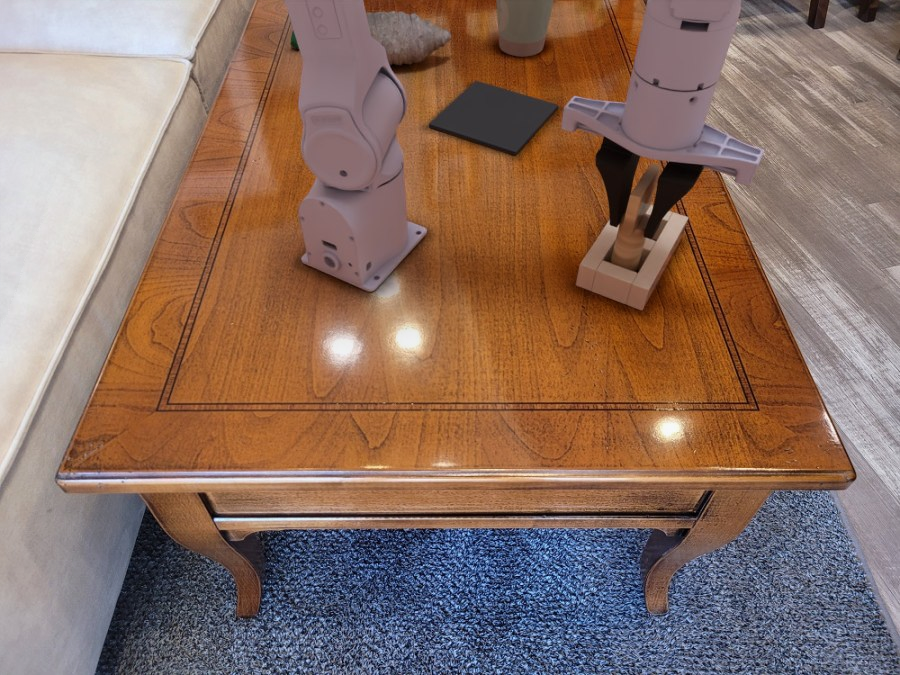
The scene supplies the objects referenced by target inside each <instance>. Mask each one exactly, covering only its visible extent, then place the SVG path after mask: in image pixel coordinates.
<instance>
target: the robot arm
mask: <svg viewBox="0 0 900 675" xmlns="http://www.w3.org/2000/svg"><path fill="white" fill-rule="evenodd" d="M742 1H743V0H647V1H646V6H645V9H644V10H645V11H644V15H643V20H642V25H641V29H640V33H639V37H638V38H639V39H638V43H637V48H636V51H635V55H634V56H635V57H634V62H633V66H632V70H631V75H630V80H629V84H628V89H627V93H626V97H625V98H626V99H625V102H620V101H613V100H612V101H611V100H600V99H592V98H587V97H581V96H578V95H573V96H572V98H571V99H570V100H569V101H568V102H567V103H566V104H565V105H564V106H563V113H562V119H561V124H560V125H561V126H560V129H561V130H563V131H566V132H569V133H575V132H576V131H577V130H579V131H582V132H585V133H589V134H592V135H595V136H598V137H601V138H602V142H601V145H600V148H599V149H598V150H597V152H596V153H595V158H594V161H595V167H596V168H597V170H598V172H599V175H600V178H601V179H602V182H603V185H604V188H605V192H606V196H607V197H606V198H607V202H608V210H609V211H608V212H609V220H610V225H611V226H614V227H616V228H617V227H618V225H619V224H620V220H621V217H622V216H623V214H624V213H626V210H627V206H628V202H629V198H630V194H631V193H632V191H633V184H634V179H635V176H636V172H637V168H638V165H639V162H640V159H641V158H645V159H649V160H655V161H660V162H661V161H662V162H667V163H666V164H665V166H664V168H663V170H662V171H661V172H660V174H659V178H658V181H657V185H656V189H655V196H654V199H653V200H654V201H653V204H652V205H653V209H652V212H651V215H650V217H649V220H648V223H647V225H646V228H645V231H644V236H643V237H645V238H648V239H651V240H653V239H652V238H653V237H654V235H655V233H656V231H657V230H658V228H659V226H660V224H661V221H662V219H663V218H664V216H665V215H666V214H667V213H668V211H671V209H672V208H673V207H674V206H675V205H676V204H678V202H679V201H680V200H681V199H683V198H684V197H685V196H686V195H687V194H688V193H690V191H691V190H693V188H694V186H695V185H696V183H697V182H698V180H699V178H700V176H701V174H702V172H703V171H704V169H708V170H711V171H714V172H718V173H722V174H724V175H727V176H731V177H734V182H735V183H736V184H739V185H742V186H746V187H750V186H751V183H752V181H753V180H754V178H755V175H756V174H757V171H758V168H759V166H760V163H761V161H762V158H763V156H764V154H765V149H763V148H760V147H757V146H753V145H751V144H748V143H745V142H744V141H742V140H739V139H737V138H735V137H733V136H732V135H729V134H728V133H726V132H724V131H722V130H720V129H718V128H716V127H714V126H712V125H710V124H708V123H706V120H707V117H708V114H709V110H710V107H711V104H712V102H713V98H714V96H715V91H716V88H717V85H718V82H719V80H720V76H721V74H722V70H723V68H724V64H725V61H726V58H727V56H728V52H729V50H730V49H729V48H730V46H731V42H732V40H733V36H734V33H735V31H736V27H737V23H738V20H739V17H740V15H741V10H742V4H741V3H742ZM283 2H284V4H285V7H286V10H287V13H288V17H289V19H290V23H291V27H292V31H293V30H294V33H295V37H296V40H297V43H298V46H299V49H298V50H299V53H300V56H301V60H302V69H301V78H300V86H299V94H298V95H299V96H298V102H297V103H298V104H297V105H298V106H297V108H298V112H299V115H300V119H301V121H302V135H301V140H300V151H301V152H300V153H301V156H302V159H303V161H304V163H305V165H306V167H307V169H309V171H310V172H311V173H312V174H313V175H314V176H315V179H314V182H313V184H312V186H311V189H310V190H309V191H308V193H307V194H306V196H305V197H304V198H303V199H302V201H301V202H300V203H299V205H298V211H297V214H298V219H299V220H298V221H299V225H300V229H301V233H302V238H303V239H302V240H303V242H304V243H303V244H304V248H305V253H304V254H302V256H301V258H300V259H301V260H300V261H301V263H302V264H304V265H307V266H309V267H312V268H314V269H316V270H318V271H321V272H322V273H325V274H327V275H329V276H332V277H334V278H336V279H338V280H341V281H343V282H346V283H348V284H350V285H352V286H355V287H357V288H359V289H361V290H363V291H366V292H374V291H375V290H376V289H378V287H379V286H380V285H381V284H382V283H383V282H384V281H385V279H387V278H388V277H389V275H390V274H391V273H392V272H393V271H394V270H395V269H396V268H397V267H398V266H399V265H400V263H401V262H402V261H403V260H404V259H405V258H406V257H407V256H408V255H409V254H410V253H411V251H412V250H413V249H414V248H416V246H417V245H418V244H419V243H420V242H421V240H422V239H423V238H425V236H426V235H427V234H428V233H427V232H428V230H427V228H426V226H425V227H424V226H423V225H420V224H416V223H414V222H411V221H409V220H408V210H407V192H406V177H405V176H406V174H405V163H404V162H405V161H404V152H403V149H402V147H401V145H400V143H399V140H398V137H397V129H398V127H399V125H400V124H401V123H402V122H403V119H404V117H405V116H406V113H407V108H408V97H407V93H406V90H405V87H404V86H403V84H402V82H401V81H400V79H399V78H398V77H397V75H396V74H395V72H394V70H392V68H391V65H389V63H388V59H387V55H386V50H385V48H384V47H383V46H382V45H381V44H380V43H378V42H377V41H376V40H374V39H373V38H372V37H371V33H370V29H369V24H368V20H367V15H366V13H367V11H366V7H365V2H364V0H284V1H283Z"/></svg>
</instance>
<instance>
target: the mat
mask: <svg viewBox="0 0 900 675" xmlns="http://www.w3.org/2000/svg"><path fill="white" fill-rule="evenodd" d="M558 109H559V104H556V103H553V102H550V101H546V100H544V99H540V98H537V97H533V96H529V95H526V94H523V93H519V92H515V91H512V90H509V89H505V88H502V87H499V86H495V85H492V84H489V83H485V82H481V81H478V80H475V81H474V82H472V83H471V84H470V85H469V86H468V87H467V88H466V89H465V90H463V92H462V93H461V94H460V95H459V96H457V97H456V98H455V99H454V100H453V101H452V102H450V104H448V106H446V107H445V108H444V109H443V110H442V111H441V112H440V113H439V114H438V115H436V117H434V118H433V119H432V120H431V121H430V122H429V123H428V128H429V129H433V130H435V131H438V132H442V133H444V134H448V135H451V136H453V137H457V138H460V139H463V140H466V141H469V142H473V143H475V144H478V145H481V146H484V147H487V148H490V149H493V150H497V151H499V152H503V153H506V154H508V155H512V156H517V155H519V153H520V152H521V150H523V148H525V146H526V145H527V144H528V143H529V142H530V141H531V140H532V138H533V137H534V136H535V135H536V134H537V133H538V132H539V130H541V128H542V127H543V126H544V125H545V124H546V123H547V122H548V120H549V119H551V117H552V116H553V115H554V114H555V112H556V111H557V110H558Z"/></svg>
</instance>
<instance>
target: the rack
mask: <svg viewBox="0 0 900 675" xmlns="http://www.w3.org/2000/svg"><path fill="white" fill-rule="evenodd" d="M653 205H654V204H651V206H650V207H649V209H648V211H647V212H646V214H645V215H646V216H647V217H648V218H649V217H650V215H651V212H652V209H653ZM688 221H689V217H688V216H686V215H684V214H681V213H677V212H674V211H671V210H669V211H668V213H667V214H666V215H665V216H664V218H663V219H662V221H661V224H660V226H659V228H658V230H657V231H656V233H655V235H654V237H653V238H652V239H648V238H646V240H645V244H644V247H643V250H642V254H641V257H640V261H639V264H638V268H637V270H638V272H637V271H636V272H633V271H631V270H628V269H625V268H622V267H620V266H617V265H614V264H612V263H610V261H611V257H612V253H613V249H614V245H615V240H616V236H617V232H618V228H619V225H618V227H617V228H616V227H614V226H611V225H610V219H609V220H608V221H607V223H605V225H604V227H603V228H602V230H601V232H600V233H599V234H598V236H597V238H596V239H595V241H594V242H593V244H592V245H591V247H590V248H589V250H588V251H587V253H586V254H585V255H584V257H583V258H582V260H581V262H580V263H579V266H578V271H577V277H576V280H575V281H576V282H575V286H576V287H579V288H581V289H584V290H587V291H589V292H592V293H594V294H598V295H600V296H602V297H605V298H608V299H610V300H613V301H615V302H618V303H620V304H623V305H625V306H628V307H631V308H633V309H637V310H639V311H643V310H645V307H646V306H647V303H648V301H649V300H650V297H651V296H652V294H653V292H654V290H655V289H656V287H657V285H658V283H659V281H660V280H661V277H662V275H663V273H665V271H666V268H667V266H668V265H669V263H670V261H671V259H672V258H673V255H674V253H675V252H676V250H677V248H678V246H679V244H680V243H681V241H682V239H683V236H684V233H685V230H686V227H687V224H688Z"/></svg>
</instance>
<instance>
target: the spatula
mask: <svg viewBox="0 0 900 675" xmlns="http://www.w3.org/2000/svg"><path fill="white" fill-rule="evenodd" d="M661 170H662V166H661V165H659V164H656V163H652V162H651V163H650V164H649V165H648V167H647V169H646V170H645V171H644V173H643V175H642V176H641V178H640V179H639V181H638V182H637V184H636V185H635V186H634V188H633V189H632V190H631V194H630V198H629V202H628V206H627V210H626V213H624V214H623V216H622V217H621V220H620V224H619V228H618V232H617V236H616V240H615V245H614V249H613V253H612V257H611V260H610V262H609V263H612V264H614V265H617V266H620V267H622V268H625V269H628V270H631V271H633V272H636V273H637V270H638V269H637V268H638V264H639V261H640V257H641V254H642V250H643V247H644V244H645V240H646V238H645V237H643V236H644V231H645V228H646V225H647V223H648V220H649V218H648V217H647V216H646V215H645V214H646V212H647V211H648V209H649V207H650V206H651V205H652V203H653V200H654V194H655V193H656V189H657V182H658V178H659V176H660V174H661Z"/></svg>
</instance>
